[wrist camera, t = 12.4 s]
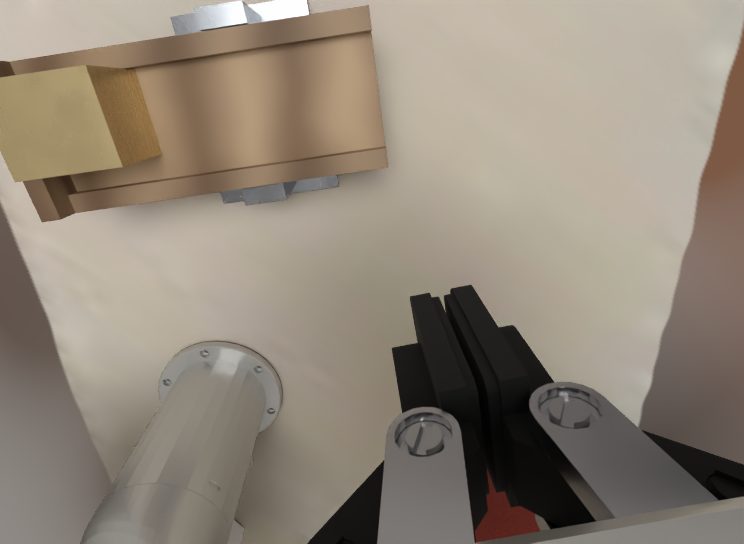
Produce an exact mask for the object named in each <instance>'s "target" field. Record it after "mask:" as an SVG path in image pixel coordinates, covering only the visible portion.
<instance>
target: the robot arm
mask: <svg viewBox="0 0 744 544" xmlns="http://www.w3.org/2000/svg"><path fill="white" fill-rule="evenodd" d="M450 293H451V294H448V295H444V302H445V309H446V312H445V310H444V308H443V306H442V303H441V301H440V299H439V297H433V298H432V297H431V295H430V293H426V294H421V295H416V296H411V297H410V301H411V307H412V313H413V319H414V324H415V330H416V336H417V341H418V343H415V344H410V345H405V346H399V347H394V348H392V353H393V359H394V365H395V371H396V377H397V383H398V389H399V396H400V402H401V408H402V414H401V415H400V416H398V417H397V418H396V419H395V420H394V421H393V422H392V424H391V425H390V426H389V429H388V433H387V437H386V449H385V460H384V461H383V462H382V463H381V464H380V465H379V466H378V467H377V468H376V469H375V471H374V472H373V473H372V474H371V475H370V476H369V477H368V478H367V479H366V480H365V481H364V482H363V484H362V485H361V486H360V487H359V488H358V489H357V490H356V491H355V492H354V493H353V494H352V495H351V497H350V498H349V499H348V500H347V501H346V502H345V503H344V504H343V505H342V506H341V507H340V508H339V510H338V511H337V512H336V513H335V514H334V515H333V516H332V517H331V518H330V519H329V520H328V521H327V523H326V524H325V525H324V526H323V527H322V528H321V529H320V530H319V531H318V532H317V533H316V534H315V536H314V537H313V538H312V539H311V540H310V541H309V542H308V544H744V465H743V464H740V463H737V462H734V461H731V460H728V459H725V458H722V457H719V456H716V455H713V454H710V453H707V452H705V451H702V450H699V449H696V448H693V447H690V446H687V445H684V444H681V443H678V442H675V441H672V440H669V439H666V438H663V437H660V436H658V435H655V434H651V433H649V432H646V431H643V430H640V429H639V428H638V427H637V426H636V425H635V424H634V423H632V422H631V421H630V420H629V419H628V418H627V417H626V416H625V415H624V414H622V413H621V412H620V411H619V410H618V409H617V408H616V407H615V406H614V405H612V404H611V403H610V402H609V401H608V400H607V399H606V398H605V397H604V396H602V395H601V394H599V393H598V392H597V391H595V390H594V389H591V388H589V387H587V386H584V385H581V384H577V383H572V382H555V383H554V381H553V380H552V378H551V377H550V376H549V374H548V373H547V371H546V370H545V368H544V367H543V366H542V364H541V363H540V361H539V360H538V359H537V357H536V356H535V354H534V353H533V352H532V350H531V349H530V347H529V346H528V344H527V343H526V342H525V340H524V339H523V337H522V336H521V335H520V333H519V332H518V330H517V329H516V328H515V327H514V326H513V325H510V326H505V327H499V328H498V326H497V324H496V323H495V321H494V320H493V318H492V317H491V315H490V313H489V312H488V310H487V309H486V307H485V305H484V304H483V302H482V301H481V299H480V298H479V296H478V294H477V293H476V291H475V290H474V288H473V287H472V285H468V286H462V287H457V288H452V289H451V290H450ZM159 397H160V401H161V403H162V404H161V406H160V407H159V409H158V411H157V412H156V414H155V416H154V417H153V419H152V420H151V422H150V424H149V425H148V427H147V429H146V430H145V432H144V434H143V435H142V437H141V438H140V440H139V442H138V443H137V445H136V447H135V448H134V450H133V452H132V453H131V455H130V457H129V458H128V460H127V461H126V463H125V465H124V466H123V468H122V470H121V471H120V473H119V475H118V476H117V478H116V479H115V481H114V483H113V484H112V486H111V488H110V489H109V491H108V493H107V494H106V496H105V498H104V499H103V501H102V503H101V504H100V506H99V507H98V509H97V510H96V512H95V514H94V515H93V517H92V519H91V521H90V522H89V524H88V526H87V528H86V530H85V532H84V535H83V537H82V540H81V543H80V544H227V542H228V539H229V536H230V532H231V528H232V525H233V521H234V518H235V514H236V510H237V507H238V503H239V499H240V496H241V492H242V489H243V485H244V481H245V478H246V474H247V471H248V469H249V468H251V467H252V466H253V464H254V460H253V457H252V452H253V449H254V445H255V442H256V438H257V434H259V433H261V432H262V431H264V430H265V429H267V428H268V427H269V425H270V424H271V423H272V422H273V421H274V419H275V418H276V416H277V415H278V412H279V409H280V405H281V400H282V387H281V384H280V380H279V378H278V376H277V374H276V372H275V370H274V369H273V368H272V367H271V365H270V364H269V363H268V362H267V361H266V360H265V359H264V358H262V357H261V356H260V355H259V354H257V353H255V352H253V351H252V350H250V349H248V348H245V347H243V346H240V345H237V344H232V343H228V342H215V341H214V342H204V343H199V344H196V345H192V346H190V347H188V348H186V349H184V350H182V351H180V352H179V353H178V354H177V355H175V356H174V357H173V358H172V359H171V361H170V362H169V363H168V364H167V366H166V367H165V369H164V371H163V372H162V374H161V377H160V380H159ZM487 469H488V472H489V475H490V478H491V480H492V483H493V486H494V488H495V491H496V492H497V493H499V492H504V491H505V494H506V497H507V499H508V502H509V504H510V507H517V506H521V507H523V508H525V509H527V510H529V511H531V512H533V513H535V518H536V522H537V524H538V527H539V529H540V531H539V532H534V533H528V534H522V535H517V536H511V537H505V538H499V539H494V540H488V541H482V542H476V535H475V530H476V529H477V527H478V526H479V524H480V522H481V521H482V519H483V518H484V516H485V515H486V513H487V511H488V506H487V497H486V495H487V494H489V484H488V475H487Z"/></svg>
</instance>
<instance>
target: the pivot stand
mask: <svg viewBox="0 0 744 544" xmlns="http://www.w3.org/2000/svg"><path fill="white" fill-rule="evenodd" d="M193 9H194V12H195V13H193V14H187V15H180V16H174V17H171V21H172V24H173V28H174V31H175V35H176V36H177V35H183V34H189V33H196V32H202V31H208V30H215V29H221V28H227V27H234V26H240V25H247V24H253V23H259V22H266V21H272V20H278V19H285V18H291V17H297V16H304V15H310V13H309V7H308V1H307V0H277V1H270V2H264V3H258V4H251V5H247V4H246V3H244V2H243V1H242V0H241V1H234V2H228V3H221V4H215V5H209V6H202V7H196V8H193ZM338 186H339V182H338V177H337V175H332V176H325V177H318V178H311V179H305V180H298V181H291V182H284V183H277V184H270V185H264V186H257V187H250V188H243V189H236V190H229V191H223V192H221V195H222V198H223V202H224V203H231V202H238V201H245V204H246V205H252V204H259V203H266V202H273V201H279V200H286V199H287V198H288V196H289V195H290V194H292V193H298V192H305V191H312V190H319V189H325V188H332V187H338Z"/></svg>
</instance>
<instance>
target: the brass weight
mask: <svg viewBox="0 0 744 544" xmlns="http://www.w3.org/2000/svg"><path fill="white" fill-rule="evenodd" d="M0 151H1V153H2V156H3V158H4V160H5V162H6V164H7V166H8V168H9V170H10V172H11V175H12V177H13V179H14V181H15V182H21V181H28V180H35V179H42V178H49V177H56V176H63V175H70V174H77V173H84V172H91V171H98V170H105V169H113V168H120V167H124V166H127V165H131V164H134V163H137V162H140V161H143V160H146V159H149V158H152V157H155V156H158V155H161V154H162V151H161V148H160V145H159V142H158V139H157V136H156V133H155V130H154V126H153V123H152V120H151V117H150V114H149V111H148V108H147V105H146V102H145V99H144V96H143V92H142V89H141V86H140V83H139V80H138V77H137V74H136V71H135V69H124V68H114V67H103V66H92V65H81V66H74V67H68V68H61V69H54V70H47V71H41V72H34V73H27V74H20V75H14V76H7V77H0Z"/></svg>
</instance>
